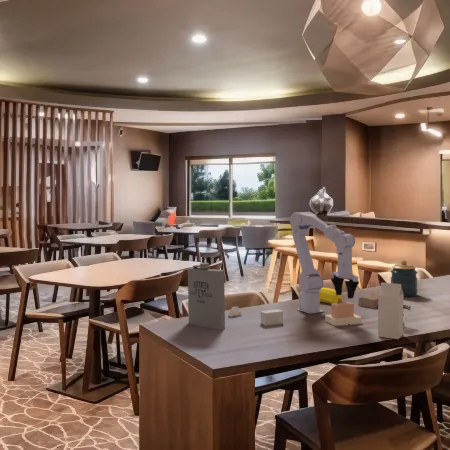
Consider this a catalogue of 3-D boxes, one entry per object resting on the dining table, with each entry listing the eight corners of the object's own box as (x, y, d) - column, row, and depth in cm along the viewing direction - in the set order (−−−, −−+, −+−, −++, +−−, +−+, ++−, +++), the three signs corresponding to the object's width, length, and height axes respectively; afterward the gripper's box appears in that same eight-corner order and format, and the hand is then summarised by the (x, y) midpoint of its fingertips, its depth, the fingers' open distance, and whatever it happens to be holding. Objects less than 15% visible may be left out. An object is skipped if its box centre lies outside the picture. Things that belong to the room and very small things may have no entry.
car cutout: (237, 314, 219) (237, 304, 219) (245, 317, 213) (245, 307, 213) (207, 318, 212) (207, 308, 211) (214, 321, 206) (214, 311, 206)
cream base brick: (325, 322, 203) (325, 314, 203) (352, 320, 206) (352, 312, 206) (334, 327, 195) (334, 319, 195) (362, 324, 198) (362, 317, 198)
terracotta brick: (331, 316, 201) (331, 303, 200) (347, 313, 204) (347, 301, 204) (337, 318, 197) (337, 305, 197) (353, 315, 200) (353, 303, 200)
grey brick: (260, 323, 200) (260, 311, 200) (277, 321, 204) (277, 309, 203) (265, 325, 197) (265, 313, 196) (283, 323, 200) (283, 311, 200)
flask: (185, 323, 201) (184, 261, 200) (193, 321, 205) (192, 260, 204) (219, 330, 191) (218, 265, 189) (226, 327, 194) (225, 263, 193)
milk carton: (398, 339, 175) (398, 285, 174) (378, 337, 178) (378, 284, 177) (403, 335, 181) (403, 282, 180) (383, 332, 184) (383, 281, 184)
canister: (395, 291, 264) (395, 258, 263) (420, 294, 257) (420, 259, 256) (387, 295, 254) (387, 260, 253) (413, 298, 246) (413, 262, 245)
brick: (373, 308, 225) (373, 298, 225) (357, 306, 231) (357, 295, 231) (392, 303, 236) (392, 293, 236) (376, 301, 242) (376, 291, 242)
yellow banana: (337, 306, 231) (346, 303, 237) (337, 291, 231) (346, 289, 236) (305, 300, 244) (315, 298, 250) (305, 287, 244) (315, 285, 249)
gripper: (326, 262, 209) (326, 294, 210) (348, 266, 196) (348, 300, 197) (339, 261, 212) (339, 292, 213) (362, 265, 199) (362, 299, 200)
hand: (344, 296), depth 205 cm, fingers open, 7 cm apart
